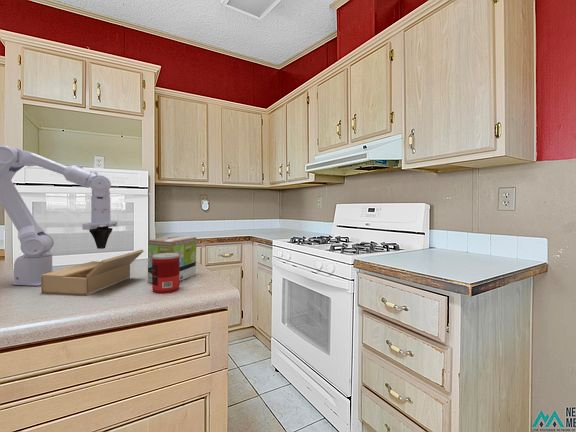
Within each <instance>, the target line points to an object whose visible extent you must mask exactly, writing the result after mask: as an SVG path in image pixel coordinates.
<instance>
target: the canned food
mask: <svg viewBox="0 0 576 432" xmlns="http://www.w3.org/2000/svg"><path fill="white" fill-rule="evenodd" d="M179 278H180V256H179V254H178V253H160V254H155V255H153V256H152V283H151V288H152V292H153V293H155V294H170V293H174V292H176V291H178V290H179V287H180V281H179Z"/></svg>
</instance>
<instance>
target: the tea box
mask: <svg viewBox="0 0 576 432" xmlns="http://www.w3.org/2000/svg"><path fill="white" fill-rule="evenodd" d="M197 242H198V241H197V236H185V235H172V236H171V235H170V236H165V237H159V238H158V237H157V238H151V239H148V250H147V251H148V252H147V256H148V257H147V283H150V284H152V256H153V255H155V254H160V253H178V254H179V256H180V278H179V282H181V281H183V280H186V279H188V278H191V277H194V276H195V275H196V271H197Z"/></svg>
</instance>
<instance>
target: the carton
mask: <svg viewBox="0 0 576 432" xmlns="http://www.w3.org/2000/svg"><path fill="white" fill-rule="evenodd" d="M100 262H101V261H98V260H97V261H94V260H93V261H89V262H85V263H81V264H78V265H77V264H76V265H72V266H69V267H66V268H62V269H59V270H55V271H52V272H50V273H46V274H42V275H41V285H40V286H41V294H42V295H43V294H44V295H45V294H46V295H62V296H63V295H64V296H65V295H66V296H83V297H84V296H85V297H86V296H87V297H88V296H90V295H92V294H94V293H97V292H99V291H102V290H104V289H106V288H109V287H112V286H114V285H116V284H119V283H122V282H123V281H126V280H128V279H131V264H128V265H125V266H122V267H119V268H116V269H113V270H110V271H107V272H104V273H101V274H98V275H95V276H92V277H89V278H87V276H86V275H87V274H89V273H90V272H91V271H92V270H93V269H94V268H95V267H96V266H97V265H98V264H99V263H100Z"/></svg>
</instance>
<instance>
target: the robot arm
mask: <svg viewBox="0 0 576 432" xmlns="http://www.w3.org/2000/svg"><path fill="white" fill-rule="evenodd" d="M35 166H36V167H39V168H43V169H45V170H49V171H50V172H55V173H56V174H59V175H63V177H64V178H65V181H67V182H71V183H73V184H75V185H78V186H81V187H84V188H86V189H89V188H90V189H91V197H90V199H91V200H90V208H91V209H90V211H91V212H90V213H91V215H90V220H91V221H90V222H86V223H81V224H82V225H81V227H82V231H85V230H86V231H87V230H88V231H89V233H90V234H91V236H92V238H93V239H94V240H93V241H94V242H95V245H96V249H99V250H101V249H102V250H103V249H106V246H107V243H108V240H109V237H110V235H111V234H112V231H113V228H114V227H118V221H116V220H115V221H114V220H113V221H111V191H110V189H111V187H112V183H111V180H110V179H109V178H108V177H106V176H104V175H101V174H100V175H99V172H97V171H94V172H93V171H92V170H91V171H90V170H88V169H85V168H84V166H83V165H80V164H77V165H75V164H72V165H70V166H69V165H68V166H66V165H65V164H61V163H59V162H57V161H54V160H52V159H49V158H46V157H45V156H42V155H39V154H37V153H34V152H32V151H28V150H25V149H24V150H23V149H21V148H17V147H15V148H14V147H12V146H10V145H6V144H0V204H1V206H2V207H3V209H4V210H5V212H6V214H7V216H8V217H9V219H10V220H11V222H12V224H13V226H14V227H15V229H16V230H17V238H18V240H19V242H20V243H19V244H20V250H21V252H22V254H23V255H20V256H18V257H17V258H16V259H15V260H14V263H13V282H11V285H14V286H30V287H31V286H33V287H36V286H37V287H38V286H41V275H42V274H46V273H50V272H53V252H52V251H51V249H52V248H53V247H54V244H55V243H54V239H53V238H52V236H51V235H48V234H47V233H46V232H45V230H44V228H43V227H41V226H40V225H39V224H38V223H37V221H36V220H35V218H34V216H33V215H32V213H31V211H30V210H29V208H28V206H27V204H26V202H25V201H24V199H23V198H22V196H21V194H20V192H19V191H18V189H17V188H16V186H15V185H14V183H13V181H12V179H13V178H14V176H15V175H16V173H17V172H18V171H20V170H21V169H23V168H24V167H35Z"/></svg>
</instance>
